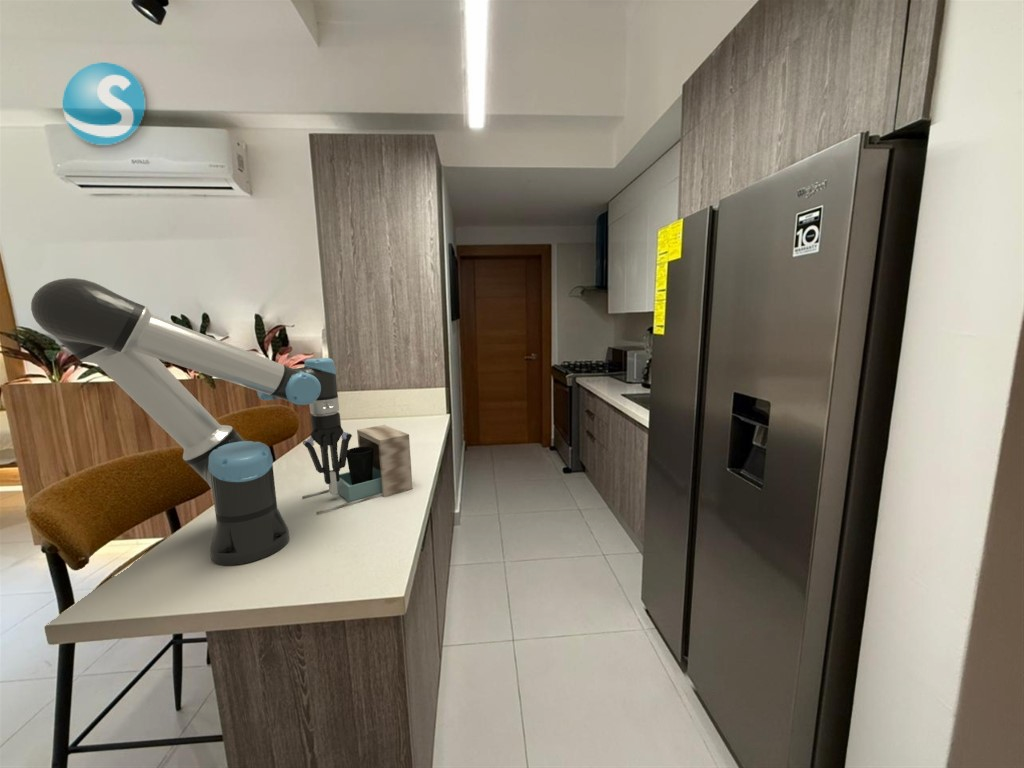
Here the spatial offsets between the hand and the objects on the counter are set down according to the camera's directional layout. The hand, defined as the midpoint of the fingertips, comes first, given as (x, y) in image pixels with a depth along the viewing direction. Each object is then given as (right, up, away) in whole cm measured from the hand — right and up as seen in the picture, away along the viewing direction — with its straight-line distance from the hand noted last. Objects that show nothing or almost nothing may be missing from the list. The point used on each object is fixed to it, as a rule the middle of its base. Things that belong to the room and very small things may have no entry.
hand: (333, 493), depth 121 cm
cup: (+6, 0, +5) cm, 9 cm away
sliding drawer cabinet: (+5, -1, +4) cm, 7 cm away
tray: (+6, -1, +5) cm, 9 cm away
